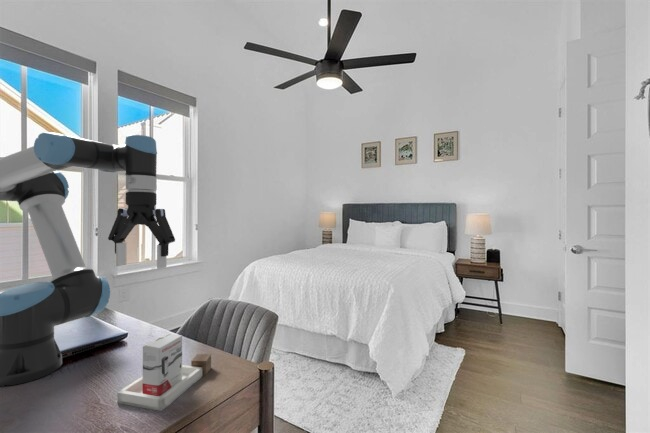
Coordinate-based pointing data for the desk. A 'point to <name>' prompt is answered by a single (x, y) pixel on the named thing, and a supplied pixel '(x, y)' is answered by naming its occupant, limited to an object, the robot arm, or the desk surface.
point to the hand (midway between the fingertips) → (141, 266)
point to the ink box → (162, 364)
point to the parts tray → (137, 398)
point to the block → (202, 362)
